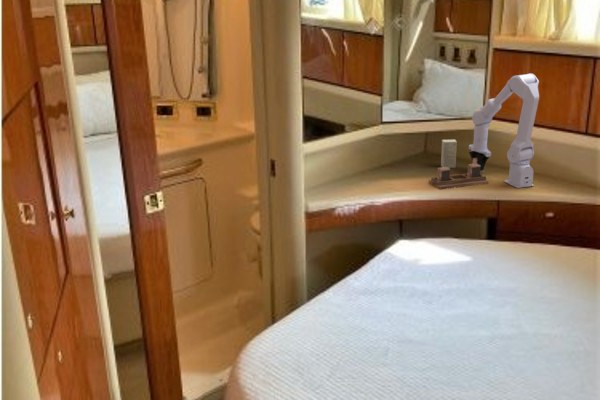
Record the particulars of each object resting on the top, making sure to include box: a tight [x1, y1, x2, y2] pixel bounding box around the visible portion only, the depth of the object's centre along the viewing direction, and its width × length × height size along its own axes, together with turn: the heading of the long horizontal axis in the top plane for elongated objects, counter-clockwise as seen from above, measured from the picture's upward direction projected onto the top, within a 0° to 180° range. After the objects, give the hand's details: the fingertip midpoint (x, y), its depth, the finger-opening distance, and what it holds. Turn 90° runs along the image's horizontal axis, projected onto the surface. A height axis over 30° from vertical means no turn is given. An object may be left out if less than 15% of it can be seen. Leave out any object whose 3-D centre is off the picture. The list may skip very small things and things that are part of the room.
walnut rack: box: [428, 163, 489, 190], centre depth 242 cm, size 10×22×7 cm, turn 106°
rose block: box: [471, 158, 485, 174], centre depth 256 cm, size 3×4×6 cm
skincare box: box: [440, 139, 458, 169], centre depth 264 cm, size 6×4×12 cm
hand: (478, 168), depth 257 cm, fingers closed on rose block, 3 cm apart
